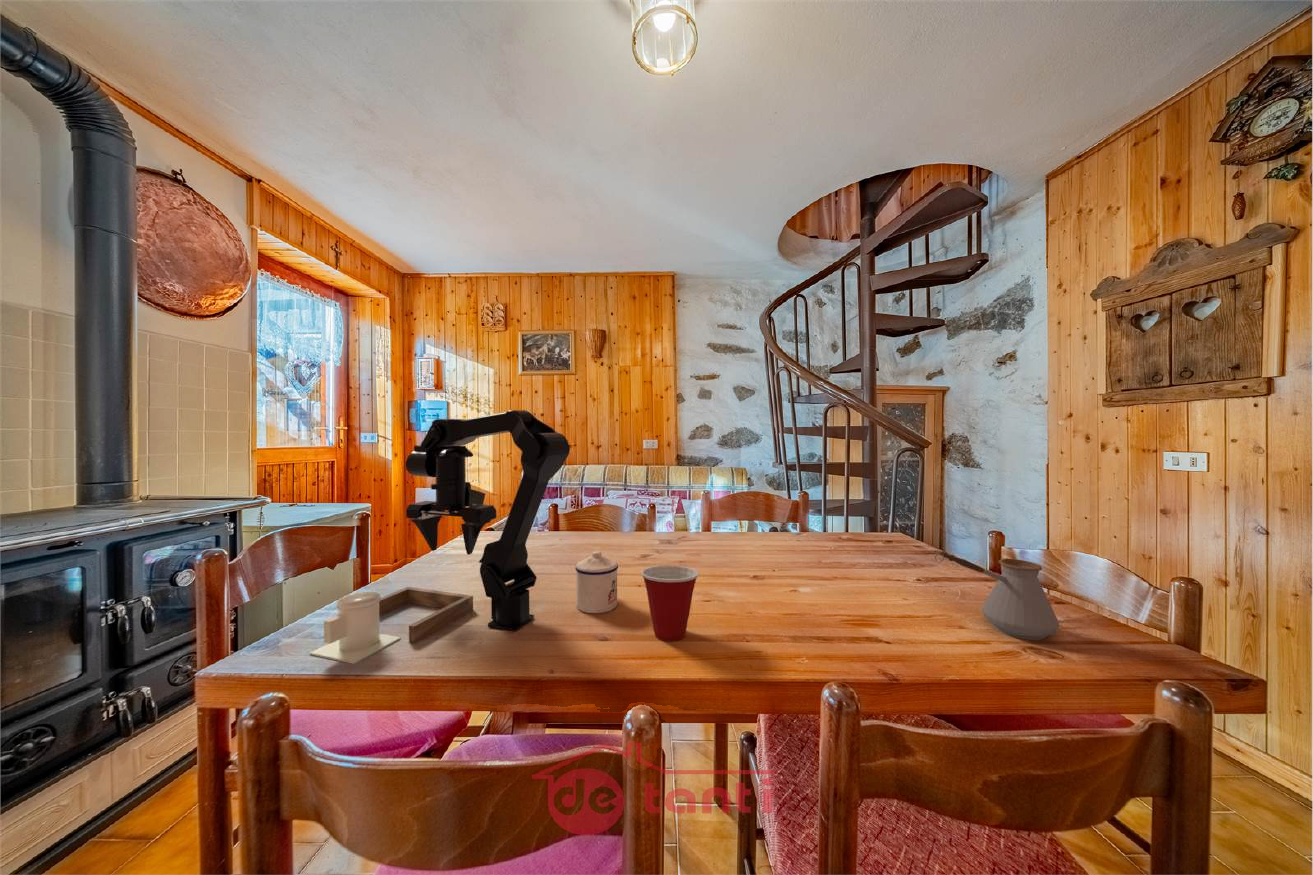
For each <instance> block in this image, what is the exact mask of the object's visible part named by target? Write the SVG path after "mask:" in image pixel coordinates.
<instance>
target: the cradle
mask: <svg viewBox="0 0 1313 875" xmlns="http://www.w3.org/2000/svg"><path fill="white" fill-rule="evenodd" d="M406 604H414V605H419V606H427V607H433V608H439V609H438V610H437V611H435V612H433V613H431V614H429V615H427V616H424V617H423V618H421V619H419V620H417V621H415V622H413V623H411V624H409V625H408V642H409V643H412V644H416V643H417V642H419V641H421V640H423V639H424V638H426V637H428V636H430V635H432V634H433V633H434V632H437V631H438V630H441V629H442V628H443V627H445V626H447V625H449V624H451V623H453V622H455V621H456V620H459V619H460V618H462V617H464V616H465V615H467V614H468V613H470V612H472V611H474V595H472V594H471V595H469V594H463V593H457V592H456V593H455V592H447V591H442V590H441V591H440V590H434V589H428V588H427V589H426V588H420V587H419V588H418V587H413V586H412V587H411V586H406V587H404V588H401V589H399V590H396V591H394V592H392V593H389V594H387V595H385V596H382V597H380V601H379V617H380V616H382V615H384V614H386V613H388V612H390V611H393V610H395V609H398V608H399V607H403V606H404V605H406Z"/></svg>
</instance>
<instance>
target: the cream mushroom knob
mask: <svg viewBox="0 0 1313 875" xmlns="http://www.w3.org/2000/svg"><path fill="white" fill-rule="evenodd" d="M380 598H381V593H379V592H378V591H377V592H376V591H363V592H362V591H361V592H356V593H351V594H348V595H346V596H343V597H341V598H340V599H338V600H337V601H336V608H337V609H338V610H337V611H338V614H337V615H335V616H332V617H330V618H328V619H324V620H323V631H324V632H323V637H324V638H323V640H324V641H323V642H324V644H325V643H326V644H329V643H330V644H331V643H333V642H335V641H337V640H339V649H340V650H341V651H344V652H353V651H359V650H363V649H366V648H369V647H371V646H373V645H375V644H377V643H378V642H379V640H380V634H381V630H380V625H381V624H380V616H379V601H380Z"/></svg>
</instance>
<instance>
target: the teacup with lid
mask: <svg viewBox="0 0 1313 875" xmlns="http://www.w3.org/2000/svg"><path fill="white" fill-rule="evenodd" d="M618 569H619V565H618V562H617V561H616V560H614V559H612V558H609V557H607V556H605V555H603V554H602V552H601V551H599V550H597V551H596V550H595V551H593V552H592V553H591V556H589V557H586V558H585V559H581V560H579V561H578V562H577V563H576V564H575V571H576V608H577V609H578V610H579V611H581V612H583V613H586V614H603V613H608V612H610V611H613V609H615V608H616V607H617V605H618Z"/></svg>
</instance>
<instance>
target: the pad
mask: <svg viewBox="0 0 1313 875" xmlns="http://www.w3.org/2000/svg"><path fill="white" fill-rule="evenodd" d="M401 638H402V637H401V636H400V637H399V636H395V635H389V634H384V633H380V640H379V642H378V643H377V644H375V645H373V646H371V647H369V648H366V649H363V650H359V651H353V652H344V651H341V650H340V649H339V640H337V641H335V642H333V643H331V644H330V643H326V644H325V645H324V646H321V647H319V648H317V649H315V650H312V651H310V652H309V655H310V656H311V655H312V656H316V657H320V658H325V659H329V660H334V661H339V662H342V663H343V662H344V663H349V664H352V665H354V664H356V663H358V662H361V661H362V660H365V659H366V658H368V657H370V656H371V655H373V654H375V653H377V652H379V651H381V650H383V649H384V648H386V647H388V646H390V645H392V644H394V643H396V642H398V641H399V640H401Z"/></svg>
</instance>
